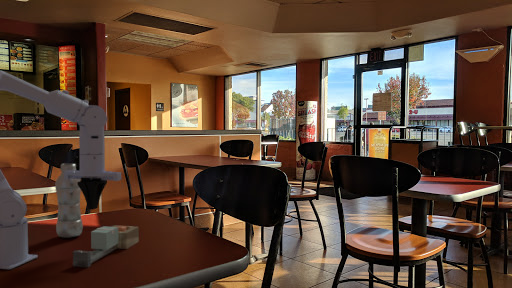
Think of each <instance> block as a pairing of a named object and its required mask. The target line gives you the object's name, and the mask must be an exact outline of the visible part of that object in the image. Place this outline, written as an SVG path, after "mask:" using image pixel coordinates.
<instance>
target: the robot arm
mask: <svg viewBox="0 0 512 288" xmlns="http://www.w3.org/2000/svg"><path fill="white" fill-rule="evenodd" d="M0 91H5V92H6V91H7V92H9V93H12V94H14V95H17V96H20V97H22V98H24V99H28V100H30V101H34V102H36V103H39V104H40V105H41V104H42V105H43V107H44V109H45V111H46V112H47V113H48V114H51V115H54V116H56V117H57V118H61V119H64V120H66V121H67V122H68V121H69V122H72V123H74V124H75V123H77V125H78V126H79V136H78V137H79V139H78V141H79V142H78V143H79V146H78V147H79V170H76V171H64V179H80V182H78V186H79V188H80V189H81V193H82V195H83V197H84V199H85V203H86V205H87V209H88V210H97V209H98V208H99V205H100V204H99V203H100V199H101V197H102V193H103V190H104V189H105V188H106V186H107V184H108V181H114V182H119V181H121V180H122V172H120V171H119V172H118V171H110V170H106V167H105V165H106V162H105V160H106V159H105V149H106V148H105V142H106V141H105V125H106V124H107V123H108V116H107V114H106V111H105V110H104V108H102V107H101V106H99V105H94V104H90V105H89V103H90V102H89V100H88V99H84V100H83V99H80V98H78V97H75V96H73V95H71V94H70V91H68V90H67V89H63V90H59V89H56V90H52V91H47V90H46V89H43V88H41V87H40V86H36V85H34V84H32V83H30V82H28V81H26V80H23V79H21V78H19V77H17V76H16V75H15V76H14V74H13V75H12V74H11V73H8V72H7V71H4V70H0ZM27 207H28V206H27V204H26V202H25V201H24V200H23V197H22V195H21V194H20V193H19V192H18V191H16V190H14V189H13V188H12V187H11V186H10V183H9V182H8V180H7V179H6V177H5V175H4V174H3V171H2V169H0V270H1V269H2V270H12V269H15V268H17V267H19V266H21V265H23V264H26V263H27V262H30V261H32V260H34V259H37V258H38V254H29V237H28V235H29V233H28V228H29V227H28V217H25V216H26V214H27V212H28V211H27V209H28V208H27Z"/></svg>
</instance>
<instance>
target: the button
mask: <svg viewBox="0 0 512 288" xmlns="http://www.w3.org/2000/svg"><path fill="white" fill-rule="evenodd" d="M126 226H127V225H118V226H116V227H118V231H121V232H124V231H125V230H126Z"/></svg>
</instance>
